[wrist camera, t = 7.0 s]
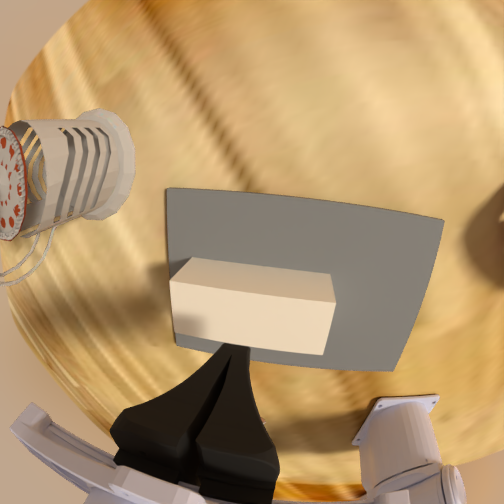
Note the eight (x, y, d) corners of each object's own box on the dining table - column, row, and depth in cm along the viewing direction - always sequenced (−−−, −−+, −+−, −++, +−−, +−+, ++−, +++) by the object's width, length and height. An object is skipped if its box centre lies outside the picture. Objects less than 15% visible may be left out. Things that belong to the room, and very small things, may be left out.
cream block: (322, 355, 16) (174, 332, 18) (320, 321, 20) (193, 303, 22) (336, 303, 15) (169, 280, 16) (330, 273, 19) (192, 257, 20)
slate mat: (392, 368, 21) (393, 371, 21) (178, 343, 24) (176, 345, 24) (442, 219, 16) (444, 220, 16) (169, 187, 19) (166, 188, 19)
